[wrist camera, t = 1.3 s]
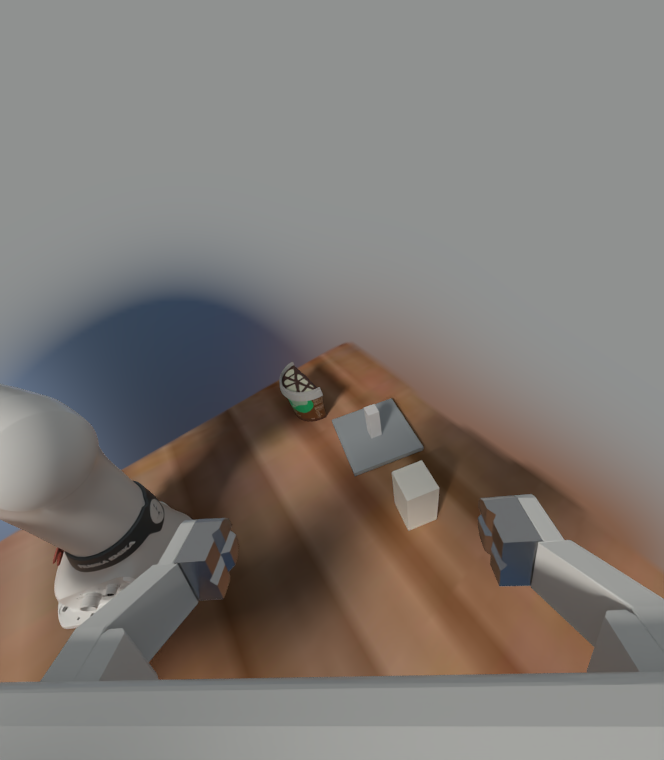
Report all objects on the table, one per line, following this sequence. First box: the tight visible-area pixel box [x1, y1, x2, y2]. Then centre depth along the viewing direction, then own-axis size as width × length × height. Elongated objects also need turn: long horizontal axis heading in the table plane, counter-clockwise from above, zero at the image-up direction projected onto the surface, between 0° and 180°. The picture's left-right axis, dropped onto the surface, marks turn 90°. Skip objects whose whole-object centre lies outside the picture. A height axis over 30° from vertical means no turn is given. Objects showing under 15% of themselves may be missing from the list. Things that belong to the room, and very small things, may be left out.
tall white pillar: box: [392, 460, 439, 531], centre depth 51 cm, size 5×5×10 cm
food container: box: [279, 362, 326, 421], centre depth 72 cm, size 12×6×10 cm, turn 35°
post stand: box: [332, 398, 423, 476], centre depth 64 cm, size 14×14×8 cm
